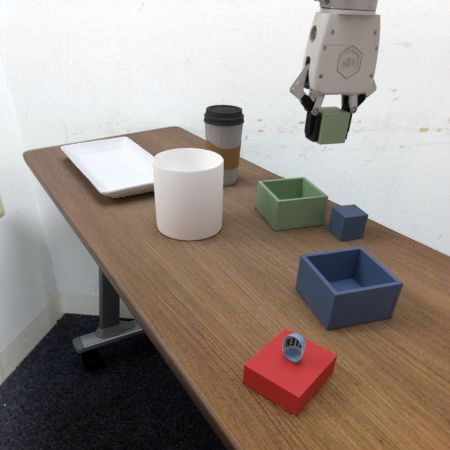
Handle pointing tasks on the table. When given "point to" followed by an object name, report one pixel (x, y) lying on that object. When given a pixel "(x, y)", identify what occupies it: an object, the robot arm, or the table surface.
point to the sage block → (333, 125)
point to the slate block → (347, 222)
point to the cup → (188, 193)
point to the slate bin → (347, 287)
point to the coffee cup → (225, 137)
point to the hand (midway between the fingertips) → (325, 137)
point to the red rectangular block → (289, 370)
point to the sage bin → (291, 203)
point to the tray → (114, 165)
